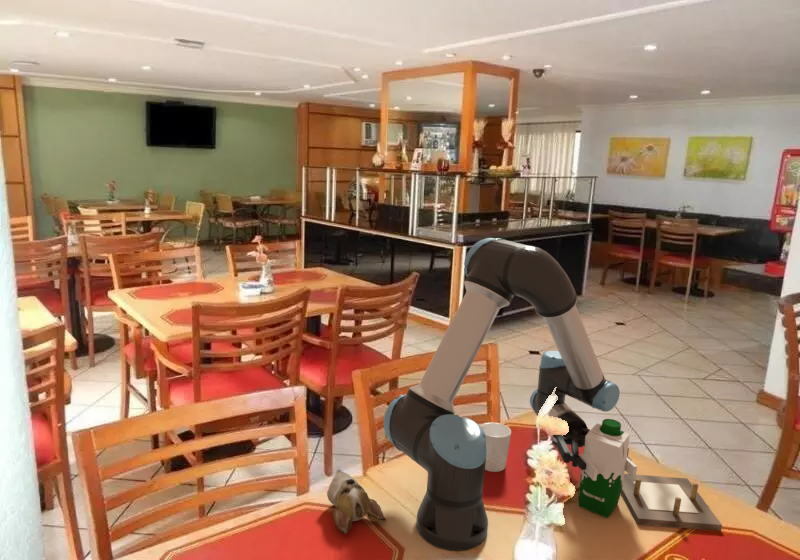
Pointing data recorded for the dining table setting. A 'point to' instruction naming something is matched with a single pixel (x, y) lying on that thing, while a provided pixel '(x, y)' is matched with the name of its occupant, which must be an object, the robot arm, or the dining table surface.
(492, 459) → the white cup
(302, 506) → the dining table surface
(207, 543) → the dining table surface
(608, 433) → the soya milk
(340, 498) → the ceramic sculpture
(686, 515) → the pin base plate
